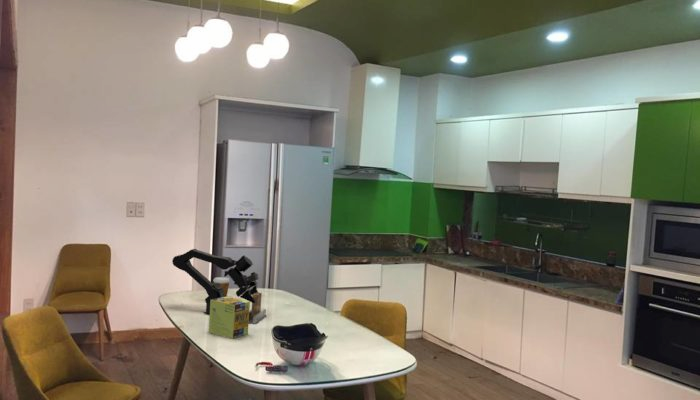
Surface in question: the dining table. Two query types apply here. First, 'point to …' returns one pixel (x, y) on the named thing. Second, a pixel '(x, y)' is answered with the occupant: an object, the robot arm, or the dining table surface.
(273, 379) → the dining table surface
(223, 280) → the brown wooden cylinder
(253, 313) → the door panel
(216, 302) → the protein box
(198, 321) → the dining table surface
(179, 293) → the dining table surface
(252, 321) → the door track
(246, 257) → the robot arm
